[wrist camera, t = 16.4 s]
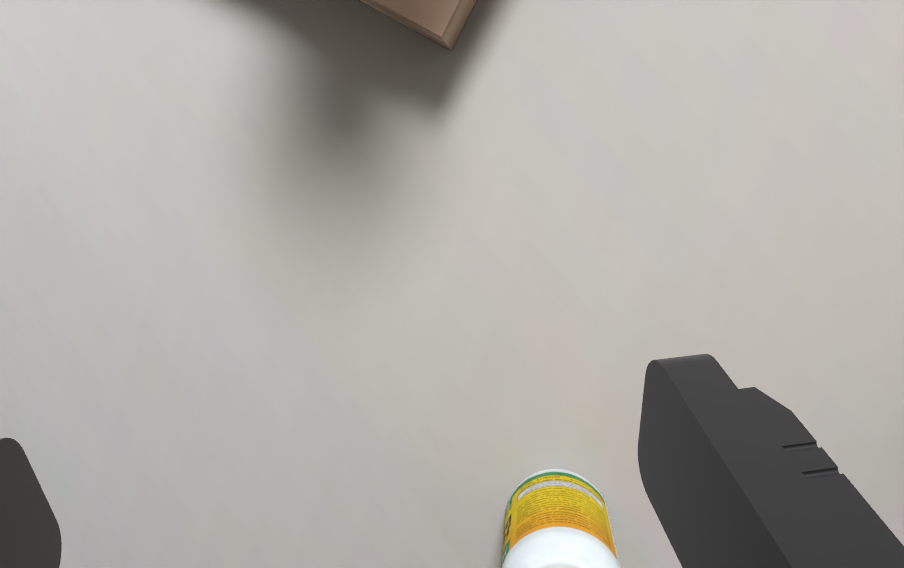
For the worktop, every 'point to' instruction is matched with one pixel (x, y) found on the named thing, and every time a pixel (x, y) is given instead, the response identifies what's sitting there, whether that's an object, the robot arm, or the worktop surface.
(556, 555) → the supplement bottle
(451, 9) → the walnut base
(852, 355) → the worktop surface
